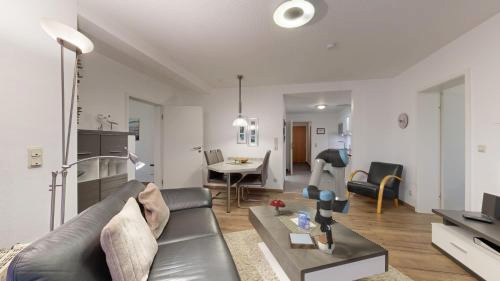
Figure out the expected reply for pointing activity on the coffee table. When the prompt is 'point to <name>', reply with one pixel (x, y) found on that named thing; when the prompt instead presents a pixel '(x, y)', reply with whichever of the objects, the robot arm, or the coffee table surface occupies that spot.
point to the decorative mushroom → (277, 206)
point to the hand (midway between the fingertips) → (326, 247)
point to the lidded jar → (324, 243)
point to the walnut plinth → (301, 241)
